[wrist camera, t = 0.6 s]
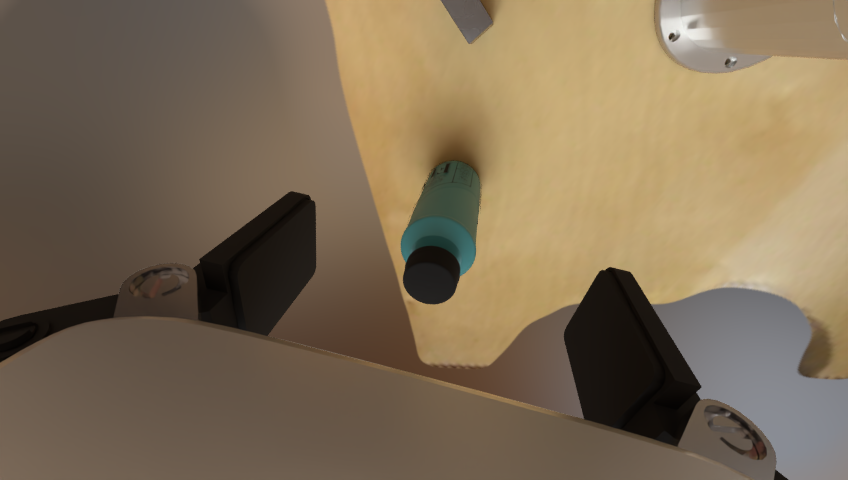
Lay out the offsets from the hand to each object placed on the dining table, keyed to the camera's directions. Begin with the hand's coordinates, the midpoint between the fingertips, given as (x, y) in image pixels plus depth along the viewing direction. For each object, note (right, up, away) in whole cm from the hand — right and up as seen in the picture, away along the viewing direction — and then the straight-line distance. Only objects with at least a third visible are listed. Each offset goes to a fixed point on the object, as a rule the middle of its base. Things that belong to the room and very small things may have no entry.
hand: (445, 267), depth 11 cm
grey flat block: (+3, +23, +20) cm, 30 cm away
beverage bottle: (+3, +8, +29) cm, 30 cm away
